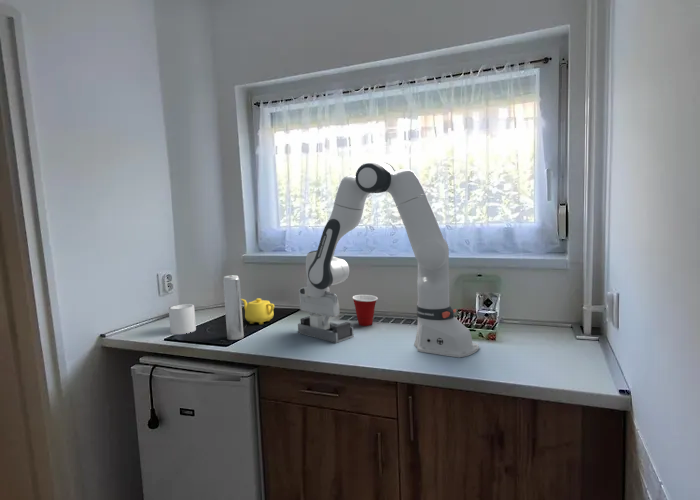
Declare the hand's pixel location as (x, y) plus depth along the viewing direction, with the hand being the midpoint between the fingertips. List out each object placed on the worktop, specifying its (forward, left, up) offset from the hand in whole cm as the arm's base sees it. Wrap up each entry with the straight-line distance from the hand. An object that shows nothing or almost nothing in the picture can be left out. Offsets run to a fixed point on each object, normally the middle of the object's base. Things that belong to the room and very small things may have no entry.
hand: (320, 324), depth 175 cm
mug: (+53, +32, -4) cm, 62 cm away
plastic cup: (-6, -21, -4) cm, 22 cm away
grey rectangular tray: (-3, 0, -4) cm, 5 cm away
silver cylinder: (+24, +24, -4) cm, 34 cm away
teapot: (+37, +4, -4) cm, 38 cm away
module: (0, 0, -2) cm, 2 cm away
